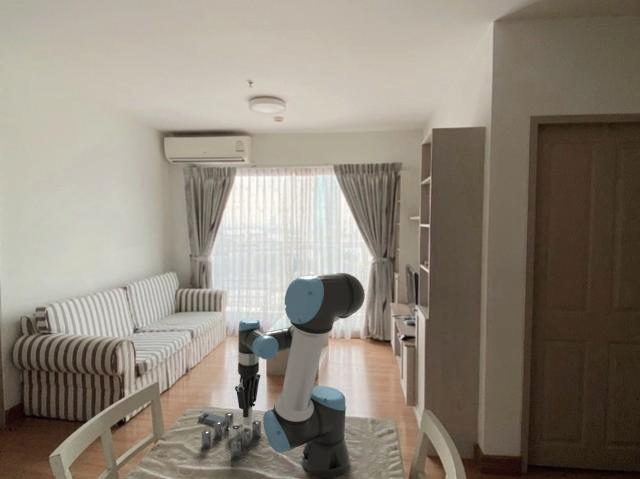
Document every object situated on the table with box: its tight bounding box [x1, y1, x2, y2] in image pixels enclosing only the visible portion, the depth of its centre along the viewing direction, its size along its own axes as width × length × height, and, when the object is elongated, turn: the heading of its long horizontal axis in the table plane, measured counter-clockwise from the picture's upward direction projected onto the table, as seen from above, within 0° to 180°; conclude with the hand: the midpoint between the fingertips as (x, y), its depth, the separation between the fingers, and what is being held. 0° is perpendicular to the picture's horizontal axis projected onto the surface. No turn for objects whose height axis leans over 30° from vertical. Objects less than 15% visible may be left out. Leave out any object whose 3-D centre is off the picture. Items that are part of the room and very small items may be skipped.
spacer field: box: [201, 411, 262, 461], centre depth 121 cm, size 15×15×5 cm
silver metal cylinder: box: [227, 422, 244, 443], centre depth 123 cm, size 5×5×4 cm
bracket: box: [197, 411, 225, 426], centre depth 133 cm, size 4×10×2 cm, turn 71°
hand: (247, 423), depth 130 cm, fingers closed
